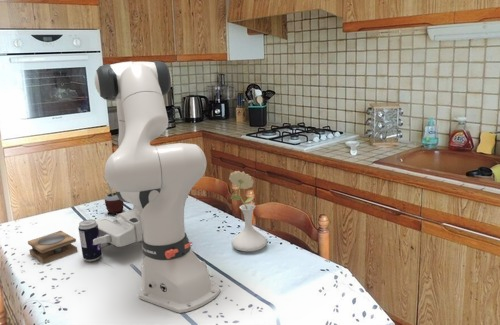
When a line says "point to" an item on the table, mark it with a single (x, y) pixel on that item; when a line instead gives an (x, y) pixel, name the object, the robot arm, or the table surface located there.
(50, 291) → the table surface
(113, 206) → the mate gourd
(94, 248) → the beverage can
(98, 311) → the table surface
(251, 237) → the flower in vase
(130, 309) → the table surface
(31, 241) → the levelling stand
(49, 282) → the table surface
